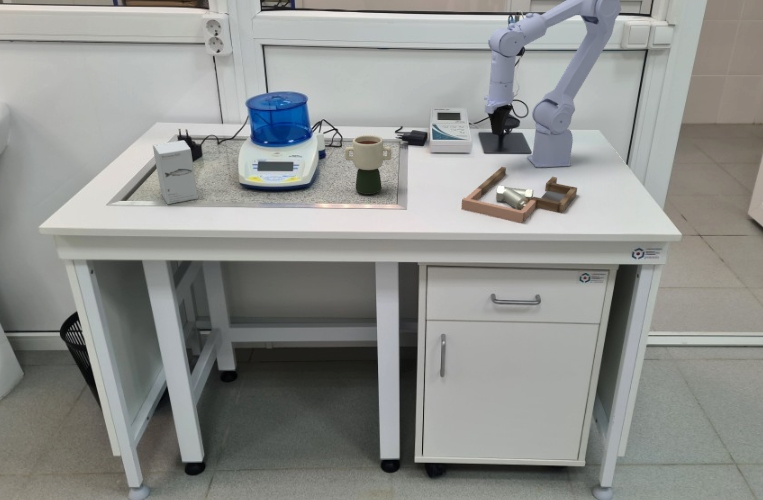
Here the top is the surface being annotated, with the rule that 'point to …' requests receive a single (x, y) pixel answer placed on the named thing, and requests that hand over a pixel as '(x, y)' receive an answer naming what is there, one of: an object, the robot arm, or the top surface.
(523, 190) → the pipe fitting
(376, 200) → the top surface
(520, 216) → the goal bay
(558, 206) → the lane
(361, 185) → the character mug
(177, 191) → the supplement box
